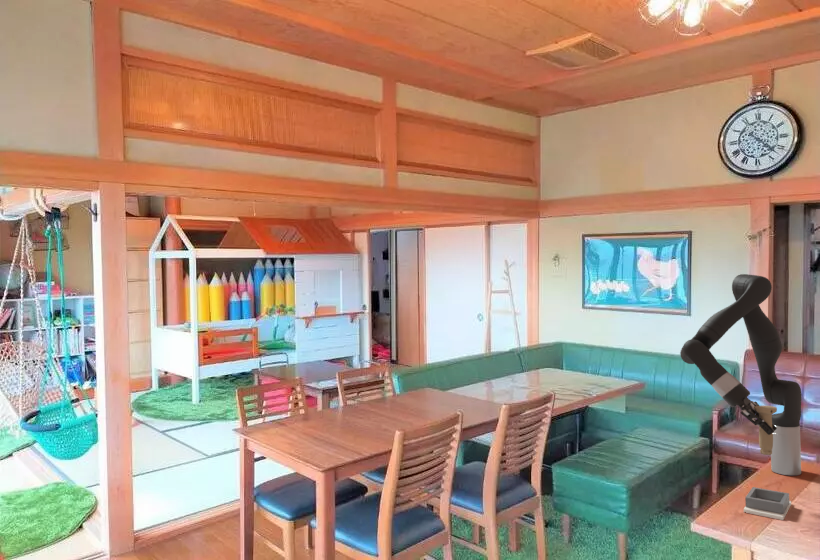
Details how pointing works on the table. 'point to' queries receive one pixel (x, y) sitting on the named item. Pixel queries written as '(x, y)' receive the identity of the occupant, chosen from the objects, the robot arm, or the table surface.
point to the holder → (767, 503)
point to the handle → (764, 438)
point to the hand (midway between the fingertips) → (773, 431)
